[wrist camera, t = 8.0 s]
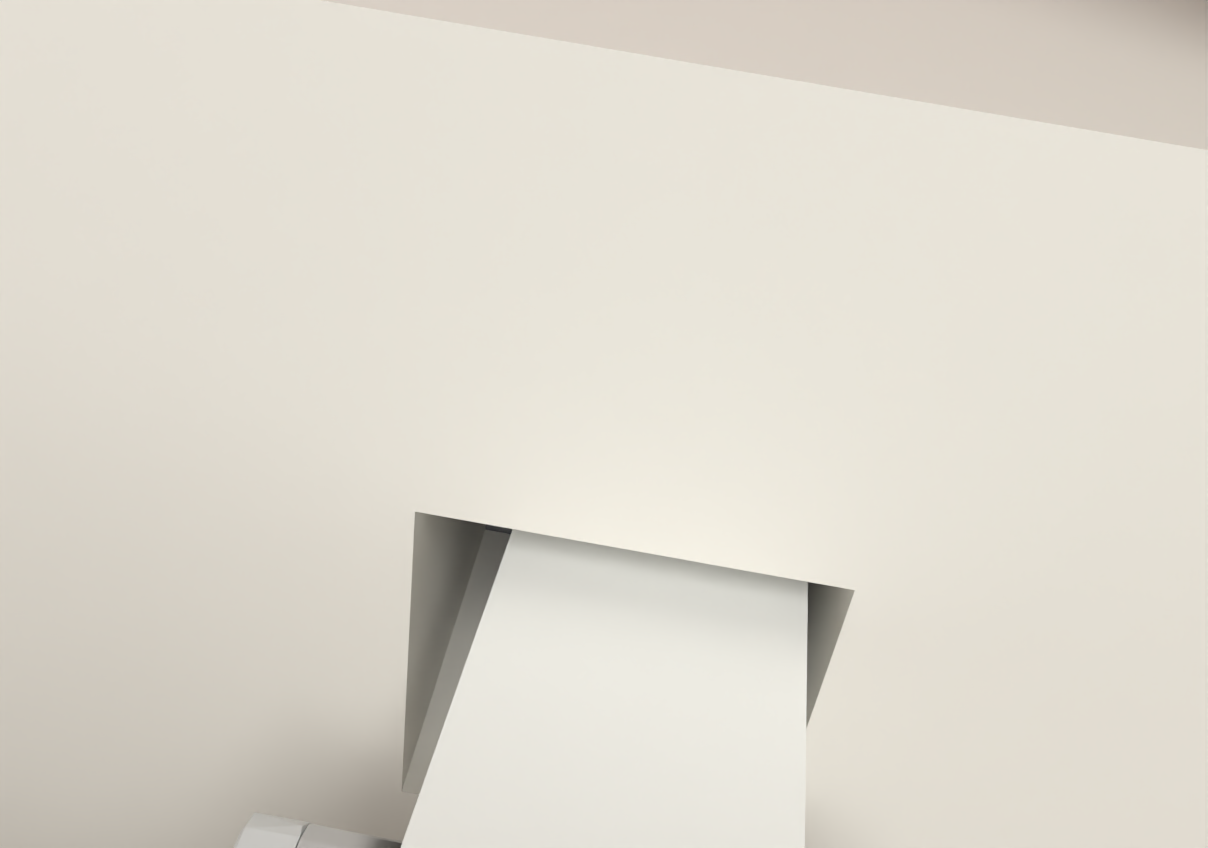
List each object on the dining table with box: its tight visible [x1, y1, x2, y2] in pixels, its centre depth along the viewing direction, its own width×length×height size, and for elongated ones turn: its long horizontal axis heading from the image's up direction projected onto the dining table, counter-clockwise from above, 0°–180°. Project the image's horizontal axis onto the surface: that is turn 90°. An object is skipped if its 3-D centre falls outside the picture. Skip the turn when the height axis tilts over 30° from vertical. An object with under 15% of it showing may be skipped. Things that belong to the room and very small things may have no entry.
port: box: [0, 0, 1208, 848], centre depth 15 cm, size 16×14×6 cm
